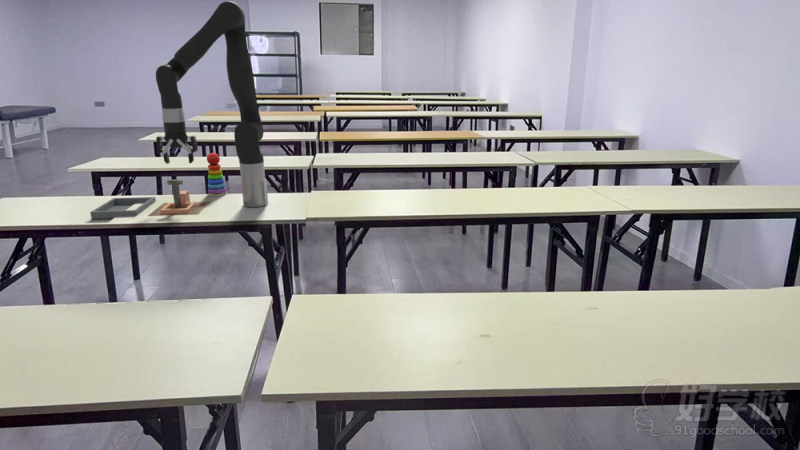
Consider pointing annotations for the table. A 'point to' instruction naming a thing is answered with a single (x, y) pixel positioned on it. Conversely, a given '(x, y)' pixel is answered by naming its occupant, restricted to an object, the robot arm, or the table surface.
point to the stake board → (193, 212)
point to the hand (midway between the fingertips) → (179, 163)
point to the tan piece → (184, 201)
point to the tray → (121, 208)
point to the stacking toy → (215, 176)
